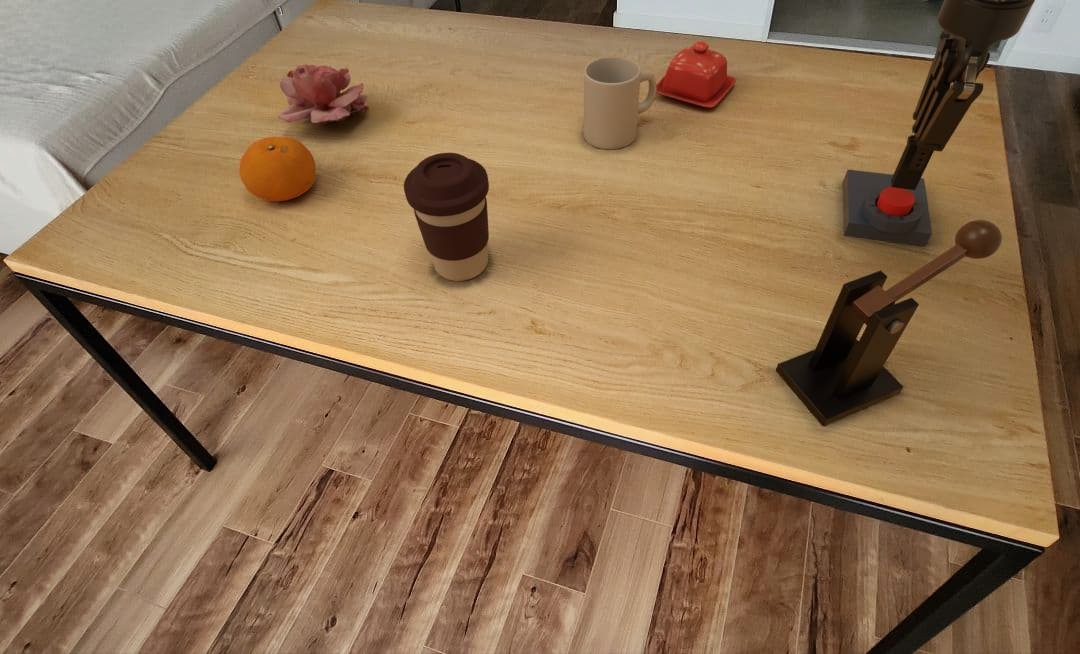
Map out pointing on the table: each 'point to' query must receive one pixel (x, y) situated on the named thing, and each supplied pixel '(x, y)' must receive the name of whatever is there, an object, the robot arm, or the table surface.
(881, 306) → the lever
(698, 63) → the butter dish
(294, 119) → the flower
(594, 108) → the mug
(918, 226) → the button block
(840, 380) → the bracket
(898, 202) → the button
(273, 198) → the fruit
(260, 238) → the table surface
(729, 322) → the table surface
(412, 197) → the coffee cup
